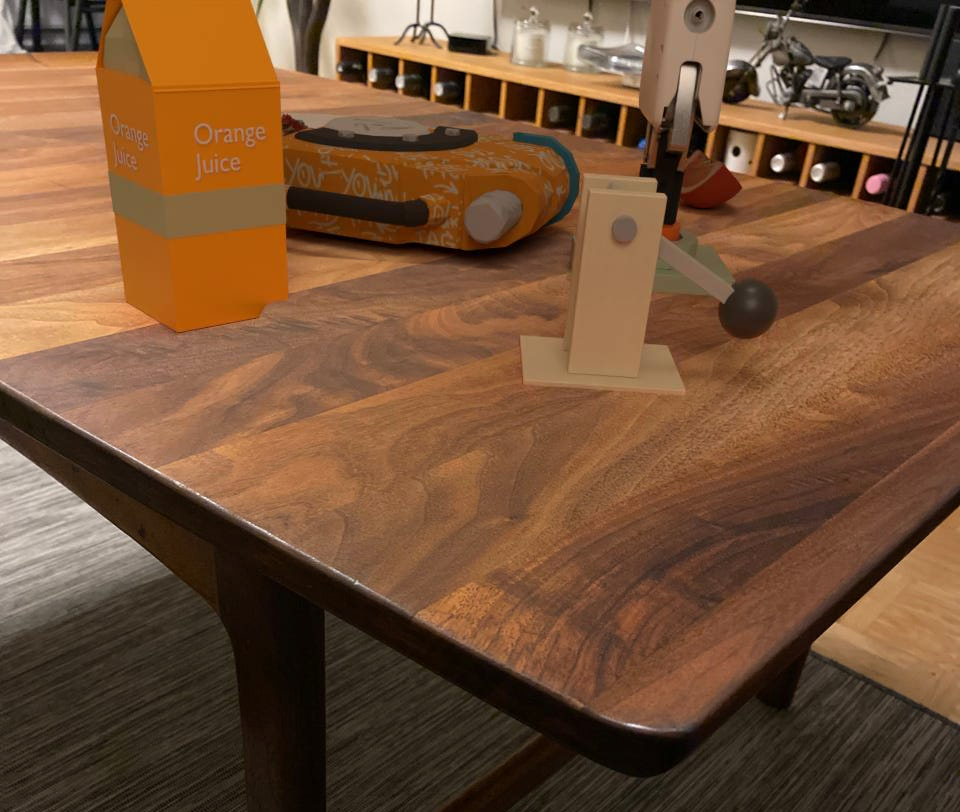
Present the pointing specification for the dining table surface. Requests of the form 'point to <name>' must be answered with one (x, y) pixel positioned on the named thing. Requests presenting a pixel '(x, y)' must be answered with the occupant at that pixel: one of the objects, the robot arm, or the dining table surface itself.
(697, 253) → the button housing
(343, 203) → the orange patterned backpack
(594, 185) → the lever stand
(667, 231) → the button
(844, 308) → the dining table surface
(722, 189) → the broken clay pot piece
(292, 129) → the plated food
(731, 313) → the lever
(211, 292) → the orange juice
